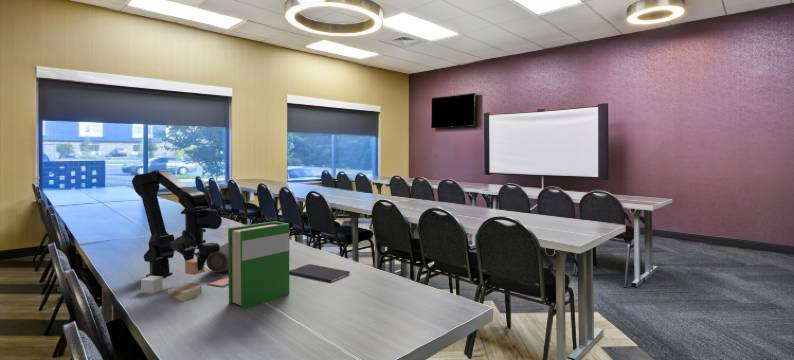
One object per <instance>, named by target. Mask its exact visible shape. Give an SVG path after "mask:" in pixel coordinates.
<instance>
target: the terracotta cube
mask: <svg viewBox="0 0 794 360" xmlns="http://www.w3.org/2000/svg"><path fill="white" fill-rule="evenodd" d="M205 266H206V265H205V264H204V266H203V268H202V270H200V271H199V270H198V264H197V257H194V259H190V260H187V261H185V260H184V273H185V274H187V275H195V276H196V275H198V274H202V273H204V272H206V271H205V269H206V268H205Z"/></svg>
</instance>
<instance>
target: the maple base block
mask: <svg viewBox="0 0 794 360" xmlns="http://www.w3.org/2000/svg"><path fill="white" fill-rule="evenodd" d="M202 289H203V287H202V285H197V284H196V285H195V284H190V283H184V284H180V285H177V286H175V287H172V288H169V289H167V298H168V299H172V300H177V301H183V302H186V301H189V300H190V299H193V298H195V297H198V296H201V295H202V292H203V290H202Z"/></svg>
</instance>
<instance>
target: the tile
mask: <svg viewBox="0 0 794 360" xmlns="http://www.w3.org/2000/svg"><path fill="white" fill-rule="evenodd" d="M207 285H208V286H212V287H218V288H225V287H227V286H229V279H226V278H221V279H218V280H216V281H212V282H210V283H207Z"/></svg>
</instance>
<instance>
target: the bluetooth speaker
mask: <svg viewBox="0 0 794 360" xmlns="http://www.w3.org/2000/svg"><path fill="white" fill-rule="evenodd" d="M205 263H206V266H207V268H208V269H209V270H210V271H211V272H213V273H221V272H227V271H228V272H229V268H228V242H227V243H225V244H222V245H220V251H217V252H214V253H210V254H209V256H208V258H207V260H206V262H205Z"/></svg>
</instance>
